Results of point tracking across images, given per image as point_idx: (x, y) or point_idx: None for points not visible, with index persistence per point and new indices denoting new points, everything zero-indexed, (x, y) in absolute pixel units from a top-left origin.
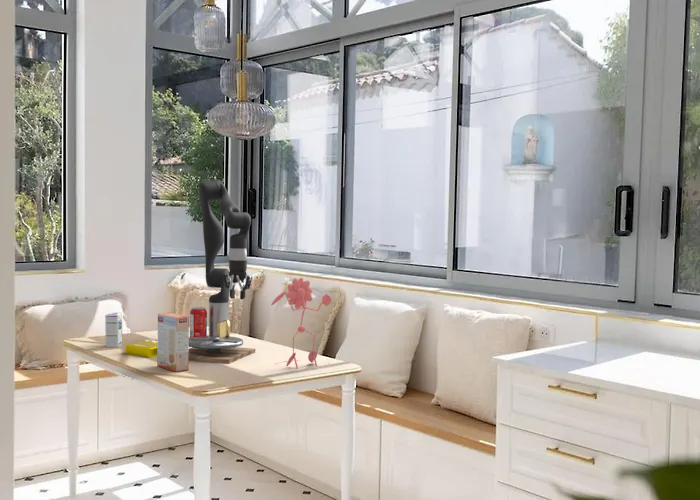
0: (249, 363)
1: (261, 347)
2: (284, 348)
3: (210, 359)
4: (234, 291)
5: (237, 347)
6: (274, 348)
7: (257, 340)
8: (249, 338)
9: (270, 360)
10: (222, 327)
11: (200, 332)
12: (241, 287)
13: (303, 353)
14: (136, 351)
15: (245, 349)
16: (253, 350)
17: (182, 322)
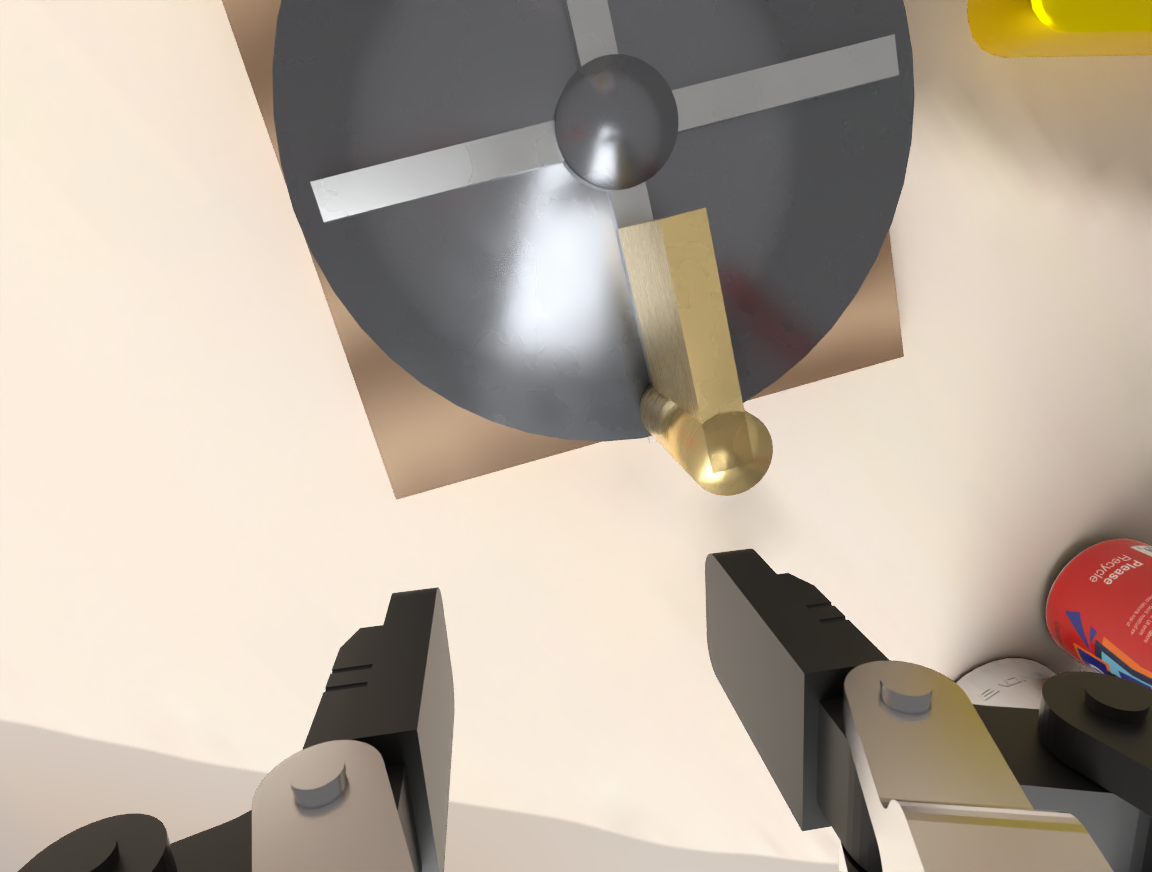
0: (49, 36)
1: (502, 669)
2: None
3: None
4: (775, 767)
5: (561, 446)
6: None
7: (709, 839)
8: (804, 854)
9: (15, 285)
10: (658, 299)
11: (1108, 594)
12: (317, 844)
13: (48, 700)
14: None
15: (441, 419)
16: (383, 458)
17: None
